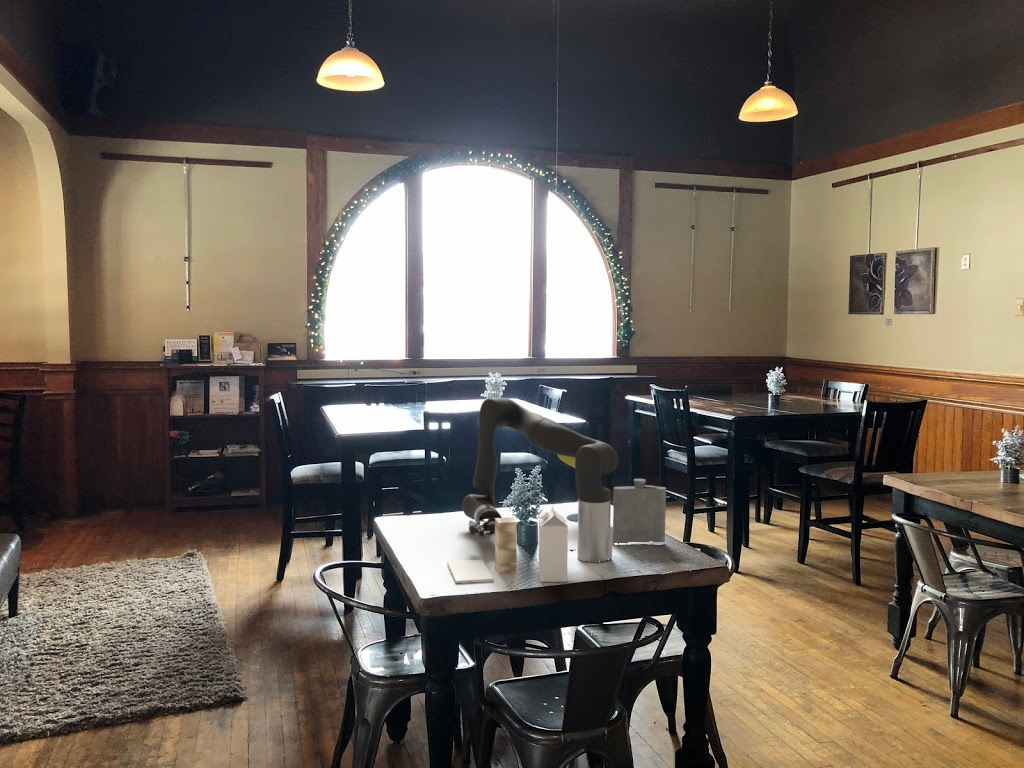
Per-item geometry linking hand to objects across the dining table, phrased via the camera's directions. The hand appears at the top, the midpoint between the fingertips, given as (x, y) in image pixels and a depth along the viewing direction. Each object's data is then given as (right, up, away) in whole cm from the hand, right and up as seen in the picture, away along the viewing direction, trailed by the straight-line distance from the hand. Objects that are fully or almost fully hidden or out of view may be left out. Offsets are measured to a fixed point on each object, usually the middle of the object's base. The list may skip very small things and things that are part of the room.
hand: (497, 533), depth 244 cm
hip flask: (+43, -6, +16) cm, 46 cm away
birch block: (+2, -8, -10) cm, 13 cm away
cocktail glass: (+28, -3, +47) cm, 55 cm away
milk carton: (+15, -9, -17) cm, 24 cm away
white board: (-7, -8, -13) cm, 17 cm away
